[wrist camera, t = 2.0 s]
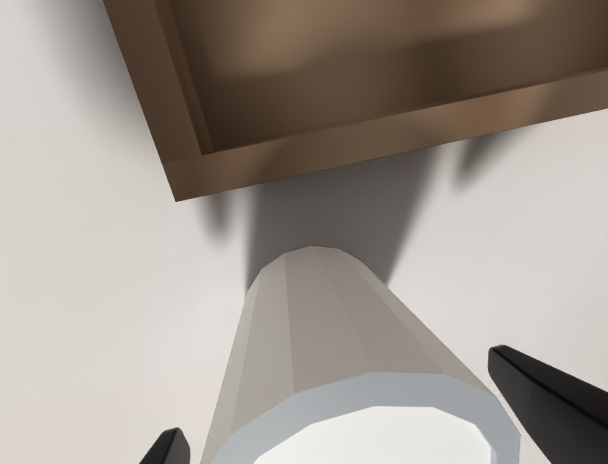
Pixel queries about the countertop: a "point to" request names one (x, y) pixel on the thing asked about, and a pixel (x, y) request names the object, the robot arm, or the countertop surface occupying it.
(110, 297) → the countertop surface
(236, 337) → the white cup
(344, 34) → the walnut tray
